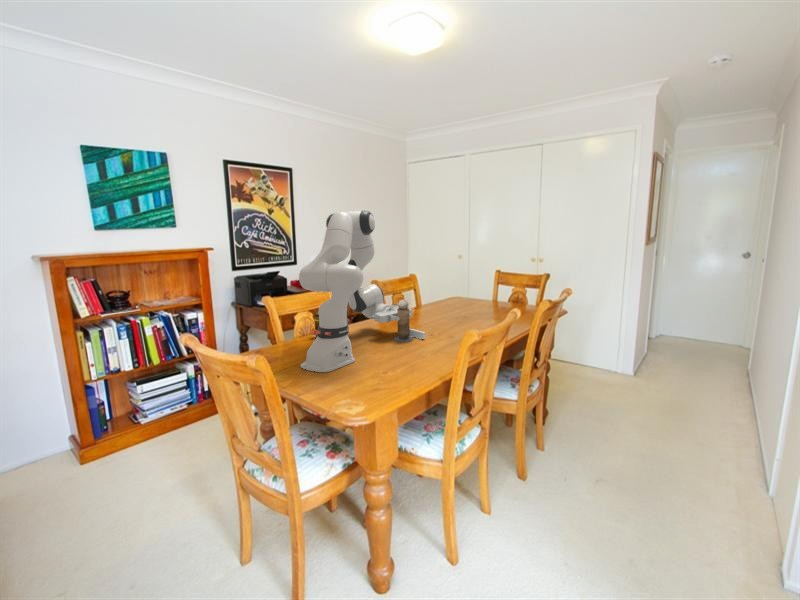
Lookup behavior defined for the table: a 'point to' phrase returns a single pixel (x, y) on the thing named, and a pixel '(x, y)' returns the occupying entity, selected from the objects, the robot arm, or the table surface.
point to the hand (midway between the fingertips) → (404, 317)
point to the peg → (403, 319)
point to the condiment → (316, 322)
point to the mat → (403, 339)
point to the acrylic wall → (417, 334)
